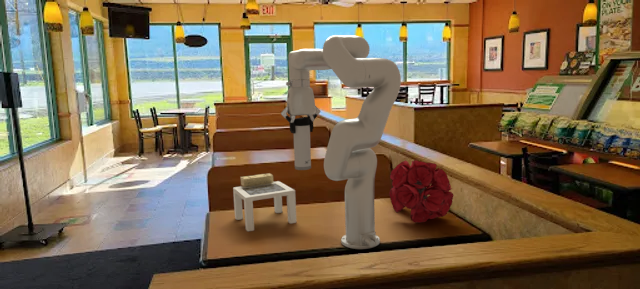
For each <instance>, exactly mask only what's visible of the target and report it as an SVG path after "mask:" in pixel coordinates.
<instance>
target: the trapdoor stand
mask: <svg viewBox="0 0 640 289" xmlns="http://www.w3.org/2000/svg"><path fill="white" fill-rule="evenodd" d="M273 182H274V183H268V184H261V185H254V186H247V187H244V186H242V185H240V186H235V187H233V188H232V190H233V191H232V193H233V207H234V208H233V209H234V218H235V220H236V221H238V220H244V224H245V231H246V232H254V231H255V220H254V204H253V202H254V201H259V200H267V199H272V198H273V203H274V204H273V206H274V208H273V209H274V213H276V214H280V213H281V214H282V213H283V197H286V207H287V208H286V209H287V210H286V212H287V222H288V223H289V224H291V225H292V224H296V223H297V222H298V221H297V205H296V204H297V202H296V200H297V199H296V190H295V188H292V187H290V186H288V185H287V184H285V183H283V182H281V181H280V180H277V181H273ZM270 184H276V185H278V186H279V187H281V188H283V189H284V190H282V191H275V192H268V193H262V194H255V195H249V194H248V193H247V192H246V191H244V190H243V188H249V187H256V186H263V185H270ZM243 208H244V214H243Z"/></svg>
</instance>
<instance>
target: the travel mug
mask: <svg viewBox="0 0 640 289" xmlns="http://www.w3.org/2000/svg"><path fill="white" fill-rule="evenodd" d="M309 118H310V116H308V117H307V116H302V117H295V119H294V123H295V133H294V134H293V149H294V150H293V155H294V156H293V157H294V169H295V170H297V171H307V170H310V169H312V161H311V160H312V158H311V155H312V154H311V153H312V152H311V132H310V127H309V126H310V123H309V122H310V121H309Z"/></svg>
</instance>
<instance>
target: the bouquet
mask: <svg viewBox="0 0 640 289" xmlns="http://www.w3.org/2000/svg"><path fill="white" fill-rule="evenodd" d="M437 167H438V165H437V164H436V163H432V162H425V161H421V160H415V159H414V160H412V161H411V164H410V163H409V161H407V160H404V161H403V160H402V161H401V162H400V163H398V164H397V165H396V166H395V168H393V169H392V170H391V172H390V175H389V179H390V180H392V182H391V184H392V185H391V186H392V187H390V190H389V191H388V192H389V193H388V195H389V200H390V203H391V206H392V209H393V211H395V213H397V214H398V213H400V212H401V211H402V210H403V209H405V208H406V209H409V210H410V216H409V218H410V221H411V222H413V223H416V224H417V223H425V222H427V221H428V220H433V219H434V220H435V219H436V218H443V217H445V216H446V215H447V214H448V213H449V210H450V209H451V206H452V205H453V202H454V201H453V199H454V193H453V191H451V190H453V188H452V186H451V182H450V180H449V178H448V175H447V172H446V171H445V170H443V168H440V167H438V168H437Z"/></svg>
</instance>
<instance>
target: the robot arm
mask: <svg viewBox="0 0 640 289" xmlns="http://www.w3.org/2000/svg"><path fill="white" fill-rule="evenodd" d="M370 51H371V50H370V44H369V42H368V41H367V40H366V38H363V37H362V36H359V35H349V34H347V35H346V34H345V35H343V34H339V35H338V34H334V35H330V36H329V37H327V39H326V40H325V41H324V43H323V46H322V48H301V49H297V50H293V51H290V52H289V53H288V69H289V70H288V71H289V72H288V73H289V78H288V79H289V81H287V82H285V85H286V86H287V87H288V90H287V96H286V107H285V108H284V109H282V111H281V112H280V115H281V116H282V117H283V118H284V119H286V121H287V122H288V123H289V132H290V133H291V134H292V135H294V133H295V123H294V119H296V116H306V117H308V116H310V118H309V121H310V122H309V123H310V126H309V127H310V133H313V131H314V122H315V120H316V119H317V118H318V115H319V114H320V113H321V109H320V108H319V107H317V106H316V102H315V95H314V89H313V87H311V82H310V81H311V80H310V79H311V78H310V77H311V76H310V71H327V70H329V71H330V70H332V71H333V73H334V75H336V76H337V78H338V79H339V81H340V82H341V84H343V85H344V86H345V87H348V88H349V89H362V88H363V89H365V88H373V90H371V92H370V93H369V94H368V95H367V96H366V97H365V99H364V101H363V102H362V104H361V108H360V111H359V114H358V116H357V117H355V118H354V117H353V118H348V119H347V118H346V119H342V120H340V121H338V122H337V123H335V125H334V126H333V128H332V130H331V133H330V136H329V140H328V144H327V147H326V151H325V155H324V160H323V169H324V174H325V175H326V177H327V178H328V179H329V180H332V181H335V182H338V181H345V180H347V181H346V184H345V187H344V213H345V214H344V215H345V216H344V217H345V218H344V219H345V225H344V226H345V234H344V235H343V236H341V239H340V242H341V244H342V245H343V246H344V247H346V248H350V249H353V250H354V249H355V250H367V249H372V248H375V247H377V246H379V245H380V242H381V239H380V237H379V236H378V234H377V235H376V231H375V230H376V227H375V226H376V224H375V223H376V222H375V221H376V220H375V217H376V216H375V179H376V172H377V166H378V158H377V154H376V152H375V151H374V150H373V149H372V148H375V147H376V146H378V144H380V142H381V140H382V137H383V134H384V131H385V127H386V125H387V122H388V120H389V117H390V113H391V112H392V111H391V110H392V108H393V106H394V104H395V102H396V100H397V97H398V96H399V92H400V90H401V83H402V77H401V72H400V69H399V67H398V66H397V64H396V63H395V62H394V61H393V60H390V59H387V58H383V57H368V56H369V54H370ZM288 115H289V116H288Z"/></svg>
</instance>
